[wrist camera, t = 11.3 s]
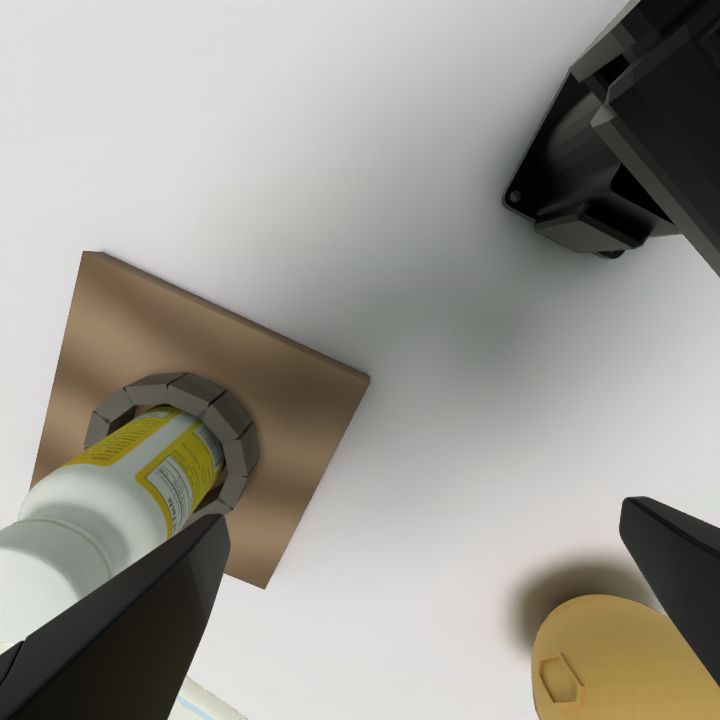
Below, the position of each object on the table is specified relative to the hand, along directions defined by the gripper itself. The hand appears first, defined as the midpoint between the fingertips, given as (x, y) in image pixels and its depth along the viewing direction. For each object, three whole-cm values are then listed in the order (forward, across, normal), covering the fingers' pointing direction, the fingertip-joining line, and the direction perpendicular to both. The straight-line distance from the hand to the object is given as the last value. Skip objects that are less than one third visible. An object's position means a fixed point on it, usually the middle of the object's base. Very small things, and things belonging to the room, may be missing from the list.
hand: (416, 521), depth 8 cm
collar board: (+12, +12, +3) cm, 17 cm away
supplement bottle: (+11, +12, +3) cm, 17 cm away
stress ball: (+12, -12, +18) cm, 25 cm away
